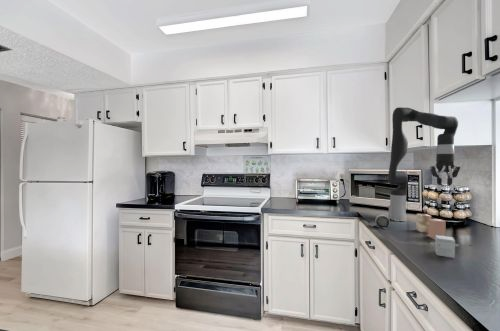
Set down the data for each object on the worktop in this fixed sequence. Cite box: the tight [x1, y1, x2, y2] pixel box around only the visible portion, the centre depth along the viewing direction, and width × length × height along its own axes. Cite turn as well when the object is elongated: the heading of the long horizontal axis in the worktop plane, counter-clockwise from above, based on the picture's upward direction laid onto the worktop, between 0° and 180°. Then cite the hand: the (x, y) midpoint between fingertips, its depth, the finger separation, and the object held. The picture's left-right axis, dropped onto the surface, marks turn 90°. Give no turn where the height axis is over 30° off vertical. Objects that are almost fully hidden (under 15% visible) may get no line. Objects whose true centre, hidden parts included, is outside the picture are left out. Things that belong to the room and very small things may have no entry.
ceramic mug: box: [369, 214, 391, 230], centre depth 150 cm, size 11×8×8 cm
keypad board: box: [426, 241, 460, 247], centre depth 130 cm, size 26×12×1 cm, turn 170°
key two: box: [427, 218, 447, 240], centre depth 124 cm, size 5×5×9 cm
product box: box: [434, 235, 456, 259], centre depth 106 cm, size 6×6×7 cm
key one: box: [415, 213, 432, 234], centre depth 136 cm, size 5×5×9 cm
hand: (444, 184), depth 134 cm, fingers open, 4 cm apart
